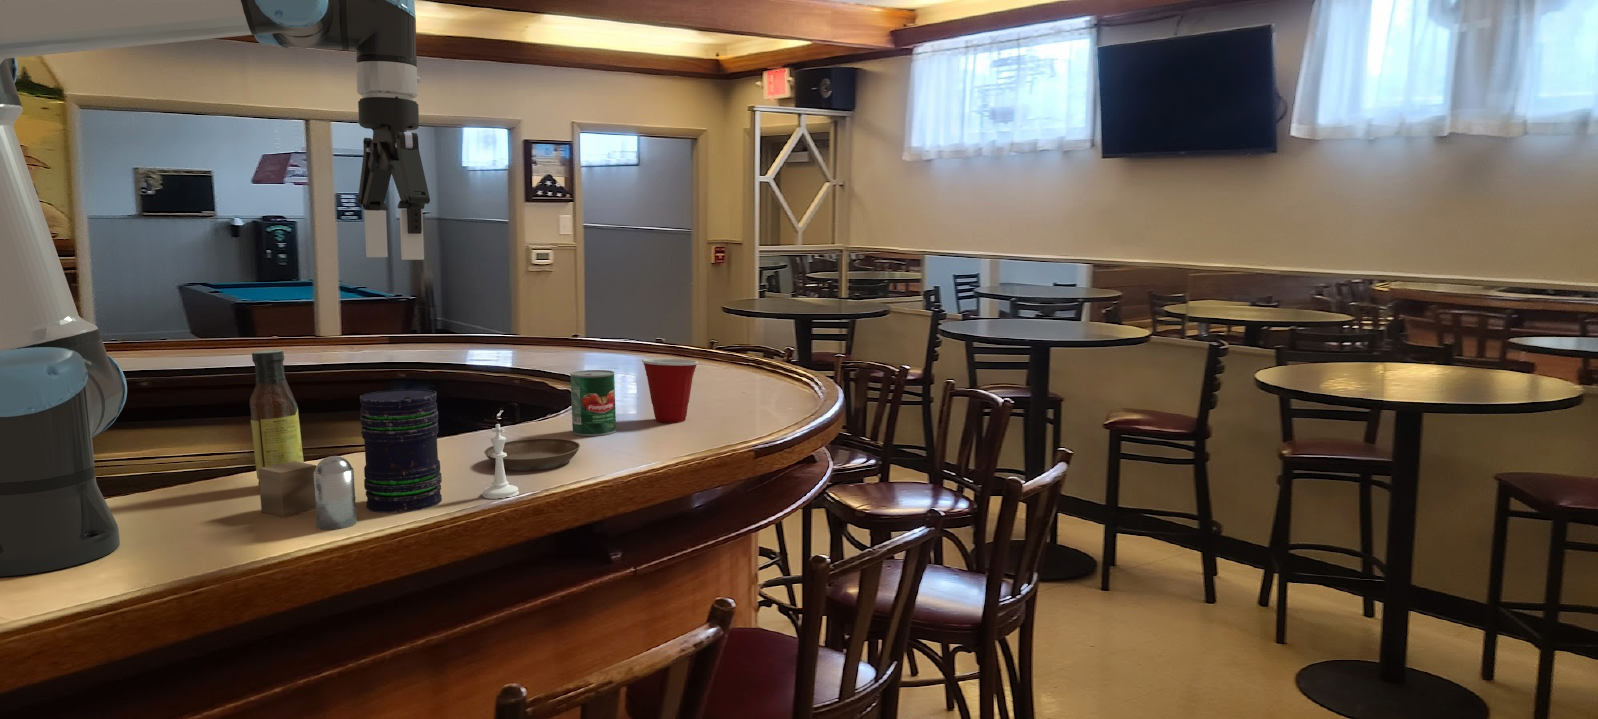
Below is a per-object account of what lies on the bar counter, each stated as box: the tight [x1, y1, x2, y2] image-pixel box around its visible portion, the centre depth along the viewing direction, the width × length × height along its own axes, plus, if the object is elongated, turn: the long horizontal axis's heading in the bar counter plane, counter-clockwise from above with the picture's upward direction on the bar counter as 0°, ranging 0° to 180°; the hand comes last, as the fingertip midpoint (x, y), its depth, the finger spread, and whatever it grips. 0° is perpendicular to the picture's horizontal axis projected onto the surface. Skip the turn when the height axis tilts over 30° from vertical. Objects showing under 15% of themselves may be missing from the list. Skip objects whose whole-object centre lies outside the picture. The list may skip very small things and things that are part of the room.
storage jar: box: [359, 388, 443, 514], centre depth 141 cm, size 10×10×15 cm
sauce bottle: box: [249, 349, 305, 488], centre depth 150 cm, size 7×6×20 cm
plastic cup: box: [641, 358, 699, 424], centre depth 200 cm, size 11×11×12 cm
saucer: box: [483, 437, 581, 472], centre depth 166 cm, size 15×15×3 cm
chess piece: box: [482, 423, 520, 500], centre depth 145 cm, size 5×5×10 cm
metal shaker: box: [313, 455, 358, 531], centre depth 131 cm, size 5×5×9 cm
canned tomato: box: [569, 369, 617, 437], centre depth 189 cm, size 8×8×11 cm
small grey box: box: [258, 461, 317, 518], centre depth 138 cm, size 5×5×6 cm
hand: (394, 258), depth 142 cm, fingers open, 13 cm apart
